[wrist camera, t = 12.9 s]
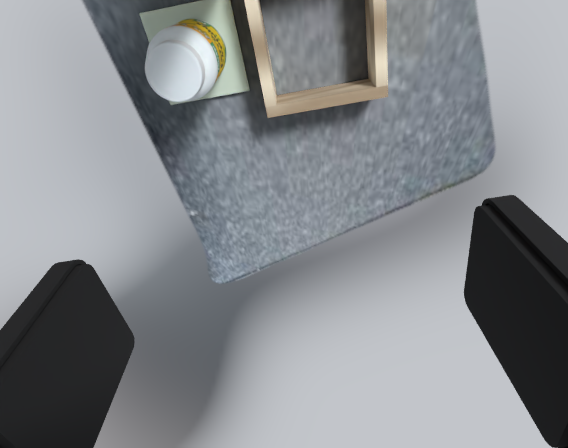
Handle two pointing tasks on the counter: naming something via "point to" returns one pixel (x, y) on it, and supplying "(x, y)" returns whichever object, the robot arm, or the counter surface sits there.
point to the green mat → (219, 15)
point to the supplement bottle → (185, 60)
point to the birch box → (330, 94)
